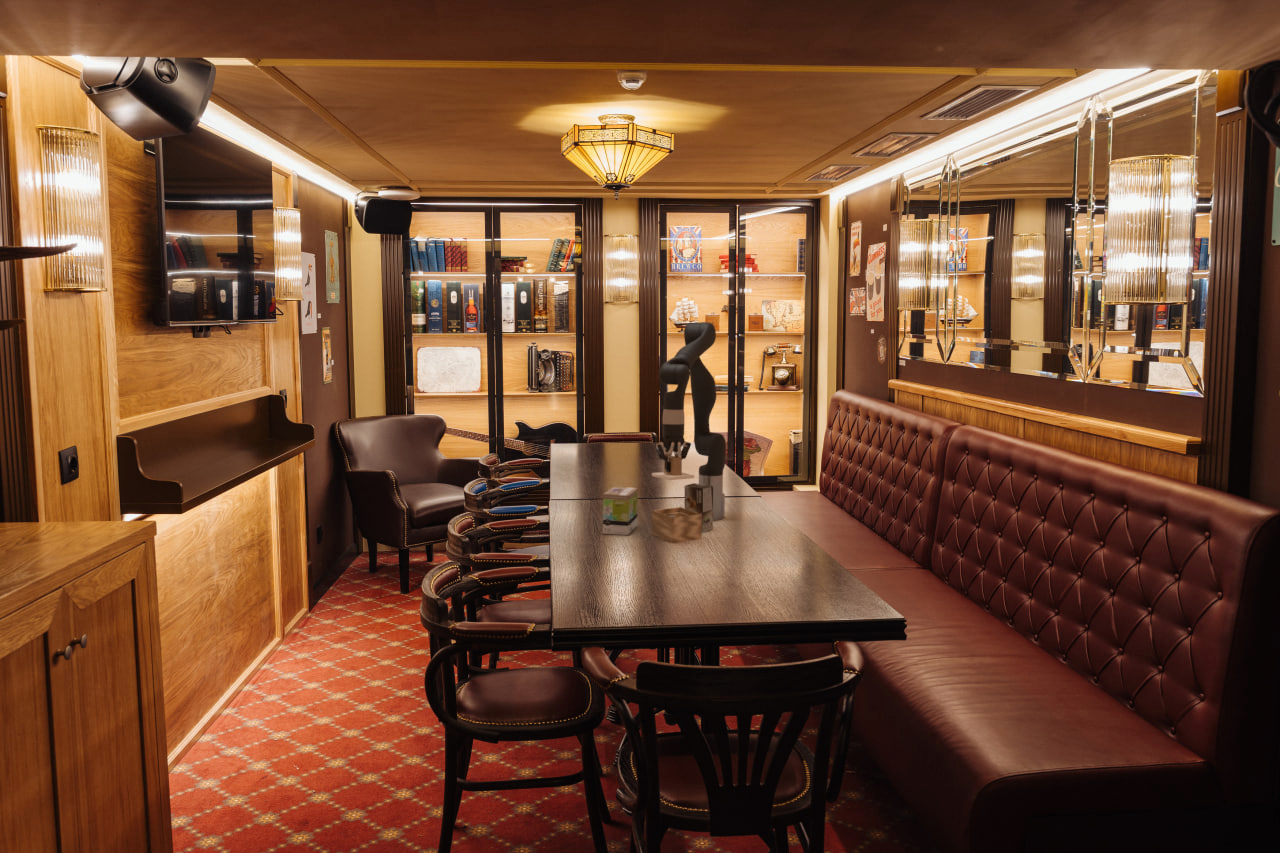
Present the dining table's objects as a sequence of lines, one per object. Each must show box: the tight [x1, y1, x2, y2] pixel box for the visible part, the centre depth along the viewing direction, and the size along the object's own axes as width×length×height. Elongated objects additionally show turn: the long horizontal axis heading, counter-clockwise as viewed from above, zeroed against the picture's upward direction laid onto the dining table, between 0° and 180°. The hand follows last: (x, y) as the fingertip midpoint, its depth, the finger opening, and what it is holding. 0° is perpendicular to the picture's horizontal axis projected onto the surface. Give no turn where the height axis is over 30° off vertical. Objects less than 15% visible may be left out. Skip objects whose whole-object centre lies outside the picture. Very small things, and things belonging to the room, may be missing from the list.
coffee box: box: [683, 482, 714, 533], centre depth 323 cm, size 9×6×16 cm
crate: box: [651, 506, 703, 544], centre depth 312 cm, size 12×14×9 cm
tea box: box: [602, 486, 639, 536], centre depth 321 cm, size 15×10×15 cm, turn 168°
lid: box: [651, 455, 695, 481], centre depth 306 cm, size 10×12×7 cm
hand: (672, 471), depth 306 cm, fingers closed on lid, 3 cm apart
